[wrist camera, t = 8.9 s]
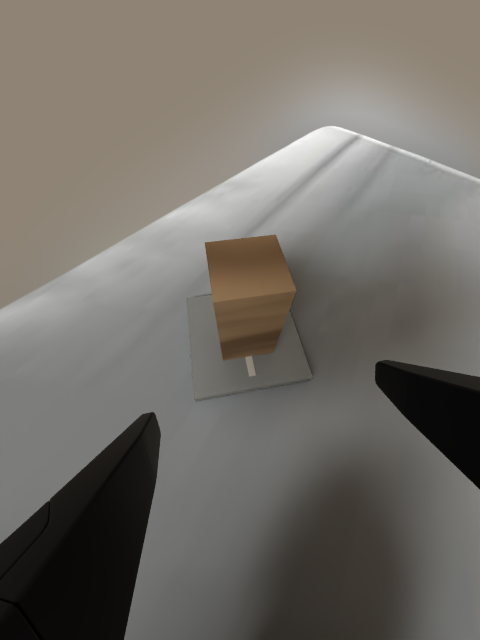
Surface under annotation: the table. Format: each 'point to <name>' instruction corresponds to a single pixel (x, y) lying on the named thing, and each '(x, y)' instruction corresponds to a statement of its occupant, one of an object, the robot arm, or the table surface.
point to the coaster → (243, 372)
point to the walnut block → (249, 294)
